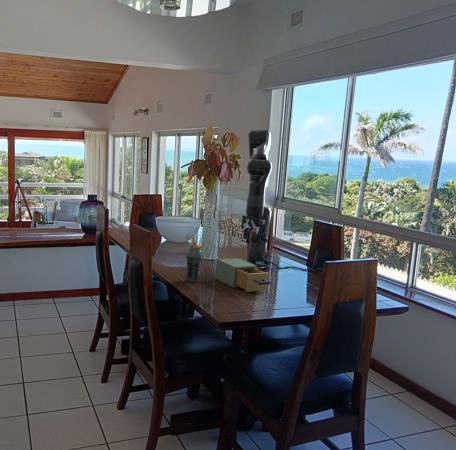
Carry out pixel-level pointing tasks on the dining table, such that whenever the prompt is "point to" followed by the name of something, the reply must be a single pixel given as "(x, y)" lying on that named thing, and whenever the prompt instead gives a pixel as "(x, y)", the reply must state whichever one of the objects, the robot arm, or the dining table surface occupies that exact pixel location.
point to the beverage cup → (193, 263)
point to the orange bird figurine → (193, 244)
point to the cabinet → (230, 270)
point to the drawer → (251, 279)
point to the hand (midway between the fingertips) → (251, 240)
